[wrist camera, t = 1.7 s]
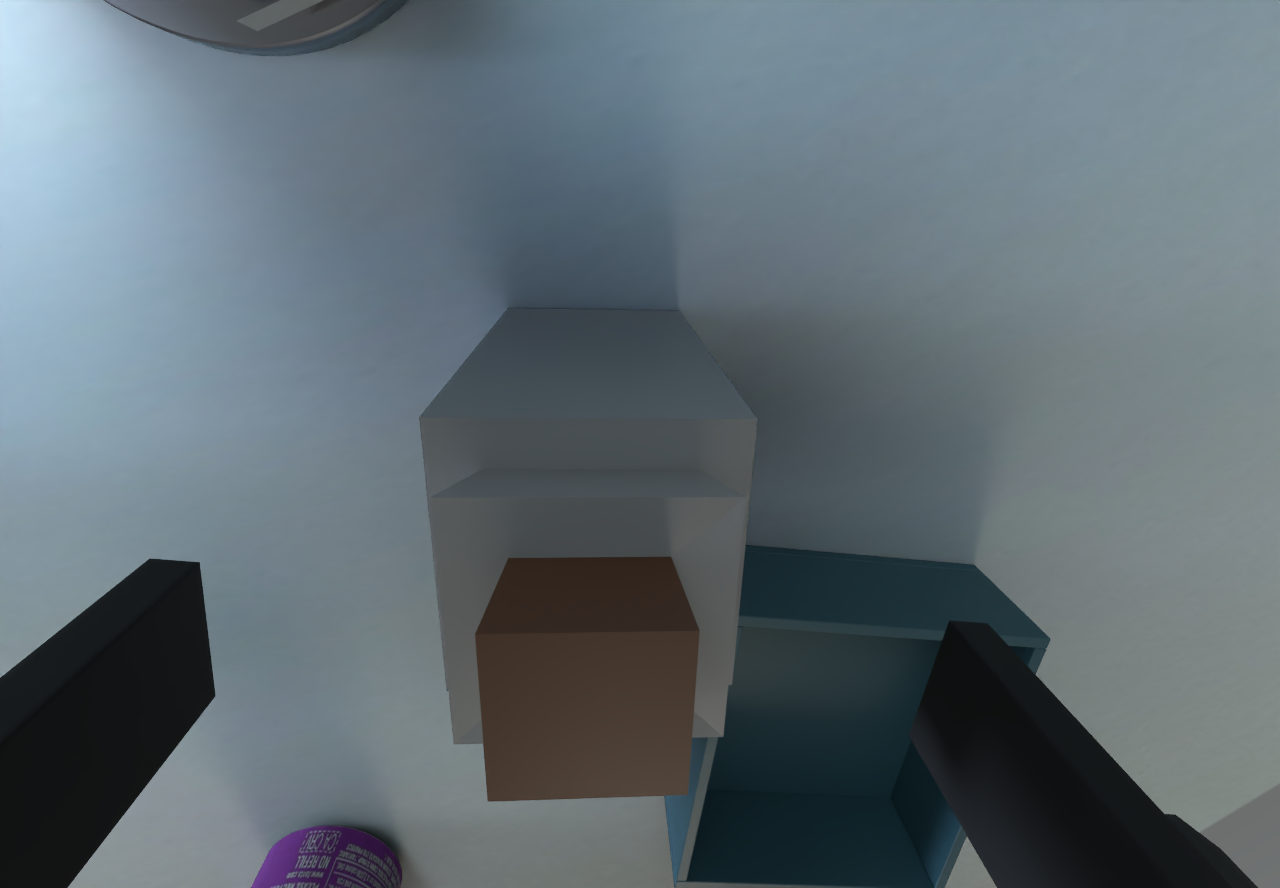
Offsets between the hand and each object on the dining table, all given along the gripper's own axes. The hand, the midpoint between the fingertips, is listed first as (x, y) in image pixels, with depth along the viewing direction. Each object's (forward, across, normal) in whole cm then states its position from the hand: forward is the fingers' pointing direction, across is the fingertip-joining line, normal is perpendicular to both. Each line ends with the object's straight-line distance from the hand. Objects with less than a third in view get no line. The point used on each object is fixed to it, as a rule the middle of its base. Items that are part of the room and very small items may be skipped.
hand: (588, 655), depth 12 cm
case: (+16, +12, -14) cm, 25 cm away
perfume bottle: (+16, 0, 0) cm, 17 cm away
